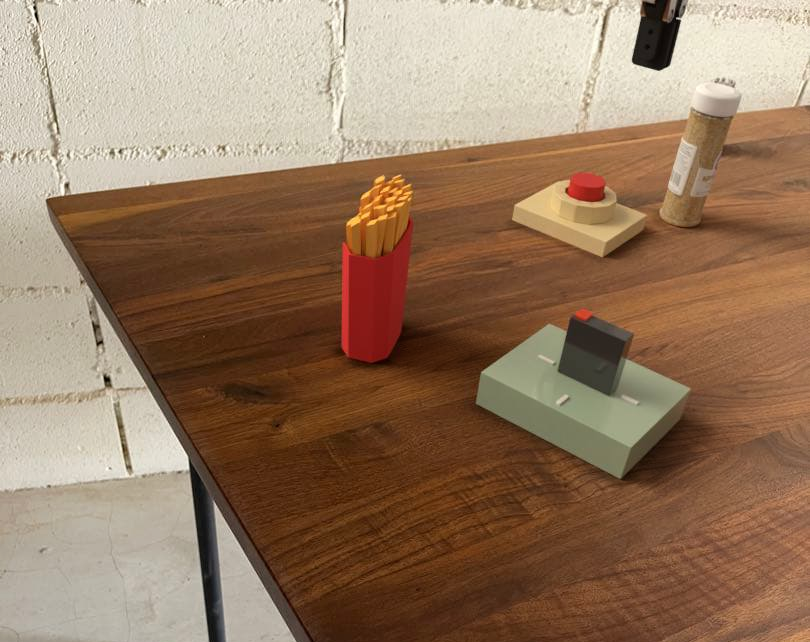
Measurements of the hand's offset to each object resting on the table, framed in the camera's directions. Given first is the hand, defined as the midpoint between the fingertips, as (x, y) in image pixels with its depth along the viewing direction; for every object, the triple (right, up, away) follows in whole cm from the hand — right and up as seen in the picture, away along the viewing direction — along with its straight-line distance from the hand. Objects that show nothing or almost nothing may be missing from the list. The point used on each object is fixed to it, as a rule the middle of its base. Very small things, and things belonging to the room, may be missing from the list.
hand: (650, 65), depth 82 cm
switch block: (-4, -11, +12) cm, 16 cm away
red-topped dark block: (-9, -32, -14) cm, 36 cm away
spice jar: (+7, -9, +15) cm, 19 cm away
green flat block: (-9, -34, -12) cm, 37 cm away
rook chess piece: (+15, +6, +31) cm, 35 cm away
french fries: (-26, -28, -7) cm, 38 cm away
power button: (-4, -9, +9) cm, 13 cm away
